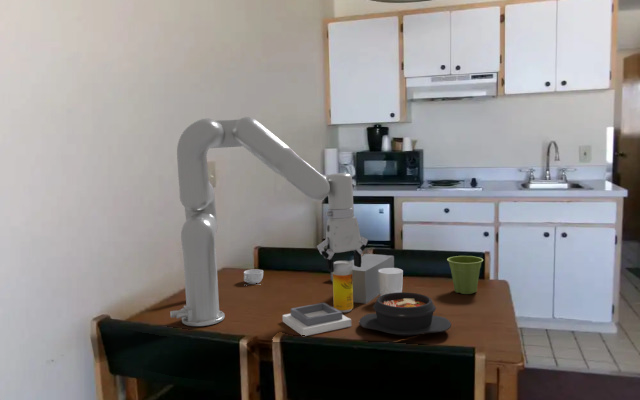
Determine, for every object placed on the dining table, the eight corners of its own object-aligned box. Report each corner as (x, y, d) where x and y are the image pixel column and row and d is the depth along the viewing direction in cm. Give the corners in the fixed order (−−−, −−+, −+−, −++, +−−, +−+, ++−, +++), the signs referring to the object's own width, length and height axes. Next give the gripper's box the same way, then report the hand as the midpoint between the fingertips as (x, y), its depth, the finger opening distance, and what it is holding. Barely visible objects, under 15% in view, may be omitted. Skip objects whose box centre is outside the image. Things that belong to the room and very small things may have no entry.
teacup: (253, 279, 203) (252, 267, 203) (272, 282, 198) (272, 270, 197) (235, 285, 195) (234, 272, 195) (254, 288, 190) (254, 276, 189)
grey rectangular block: (337, 279, 200) (336, 251, 199) (394, 285, 188) (393, 255, 187) (303, 296, 178) (302, 265, 177) (365, 304, 167) (365, 271, 165)
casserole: (353, 338, 136) (353, 307, 136) (364, 316, 154) (363, 288, 154) (451, 344, 131) (451, 312, 130) (450, 320, 149) (450, 291, 148)
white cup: (374, 301, 169) (373, 271, 168) (387, 295, 174) (387, 266, 173) (394, 305, 163) (394, 274, 162) (407, 299, 169) (407, 269, 168)
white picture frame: (303, 336, 139) (302, 322, 139) (282, 321, 151) (282, 308, 151) (351, 326, 146) (351, 312, 145) (327, 312, 158) (327, 300, 158)
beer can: (351, 313, 157) (350, 264, 156) (332, 312, 158) (330, 264, 157) (354, 307, 163) (353, 260, 162) (335, 306, 164) (334, 260, 163)
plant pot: (469, 285, 184) (469, 254, 183) (490, 294, 173) (490, 260, 172) (440, 289, 181) (440, 257, 179) (460, 298, 169) (459, 264, 168)
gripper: (322, 218, 151) (325, 275, 152) (372, 212, 158) (374, 266, 160) (310, 215, 157) (313, 271, 159) (359, 210, 165) (361, 262, 167)
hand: (344, 268), depth 160 cm, fingers open, 9 cm apart
